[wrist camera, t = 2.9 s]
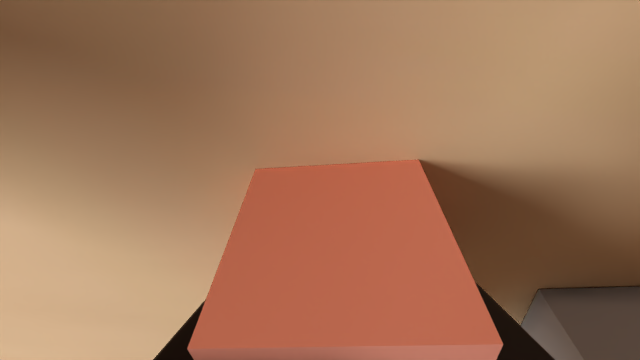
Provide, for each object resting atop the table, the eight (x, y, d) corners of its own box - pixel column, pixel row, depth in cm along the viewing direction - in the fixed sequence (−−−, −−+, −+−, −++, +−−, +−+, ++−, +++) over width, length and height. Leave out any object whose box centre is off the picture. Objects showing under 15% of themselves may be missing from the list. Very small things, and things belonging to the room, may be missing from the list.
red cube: (406, 269, 11) (453, 453, 7) (280, 274, 11) (251, 451, 7) (418, 159, 8) (503, 344, 4) (255, 168, 9) (187, 349, 5)
